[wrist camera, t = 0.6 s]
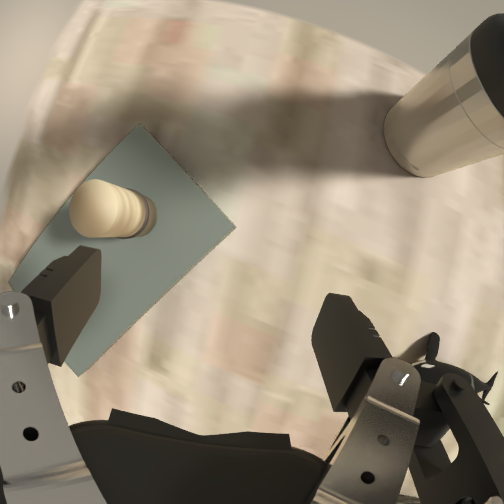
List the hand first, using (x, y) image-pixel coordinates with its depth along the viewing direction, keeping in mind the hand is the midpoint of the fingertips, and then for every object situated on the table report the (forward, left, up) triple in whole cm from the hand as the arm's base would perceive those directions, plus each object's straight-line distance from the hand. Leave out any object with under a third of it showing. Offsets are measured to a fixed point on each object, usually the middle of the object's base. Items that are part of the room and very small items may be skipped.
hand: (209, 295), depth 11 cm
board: (+10, -9, -21) cm, 25 cm away
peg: (+4, -9, -18) cm, 21 cm away
